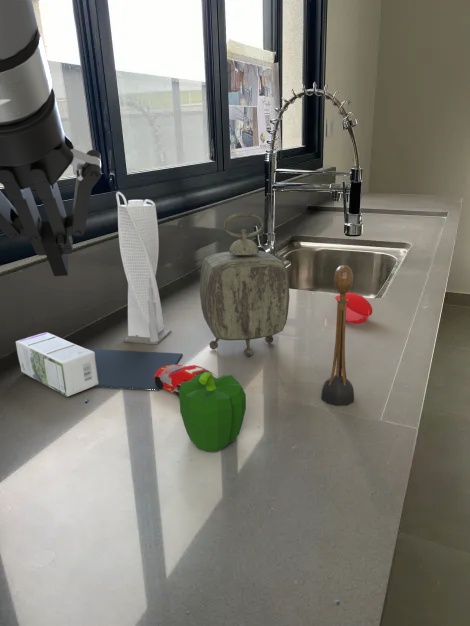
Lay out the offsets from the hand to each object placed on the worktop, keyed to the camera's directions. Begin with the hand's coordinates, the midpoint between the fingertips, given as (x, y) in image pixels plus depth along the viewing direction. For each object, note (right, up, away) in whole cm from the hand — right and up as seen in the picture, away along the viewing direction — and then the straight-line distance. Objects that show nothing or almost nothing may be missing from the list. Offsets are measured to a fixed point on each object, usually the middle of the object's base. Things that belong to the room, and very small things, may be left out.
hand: (61, 265), depth 57 cm
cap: (+45, -7, +48) cm, 67 cm away
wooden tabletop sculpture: (+35, -18, +16) cm, 43 cm away
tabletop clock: (+22, -13, +33) cm, 42 cm away
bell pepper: (+17, -22, +6) cm, 28 cm away
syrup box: (-3, -15, +17) cm, 23 cm away
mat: (+1, -15, +27) cm, 31 cm away
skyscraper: (+2, -10, +42) cm, 43 cm away
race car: (+13, -18, +18) cm, 28 cm away
